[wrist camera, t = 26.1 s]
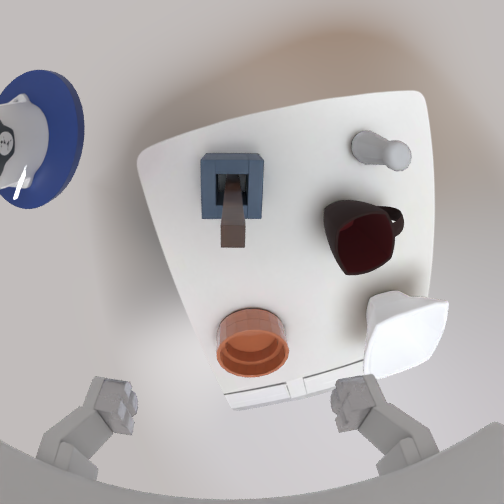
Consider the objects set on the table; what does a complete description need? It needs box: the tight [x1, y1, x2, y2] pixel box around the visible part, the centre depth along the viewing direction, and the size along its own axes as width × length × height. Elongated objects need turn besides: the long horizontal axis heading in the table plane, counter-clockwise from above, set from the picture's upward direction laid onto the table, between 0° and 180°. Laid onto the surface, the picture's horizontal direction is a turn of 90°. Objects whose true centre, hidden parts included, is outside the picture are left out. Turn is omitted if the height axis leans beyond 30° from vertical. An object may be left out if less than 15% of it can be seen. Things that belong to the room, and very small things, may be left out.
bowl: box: [363, 291, 448, 379], centre depth 53 cm, size 19×19×14 cm
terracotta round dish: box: [217, 309, 289, 377], centre depth 56 cm, size 14×14×7 cm
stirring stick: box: [221, 174, 245, 248], centre depth 34 cm, size 2×2×24 cm
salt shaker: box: [352, 131, 412, 171], centre depth 37 cm, size 6×6×13 cm
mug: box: [324, 200, 404, 275], centre depth 43 cm, size 10×14×12 cm
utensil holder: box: [201, 153, 264, 219], centre depth 41 cm, size 8×8×8 cm
